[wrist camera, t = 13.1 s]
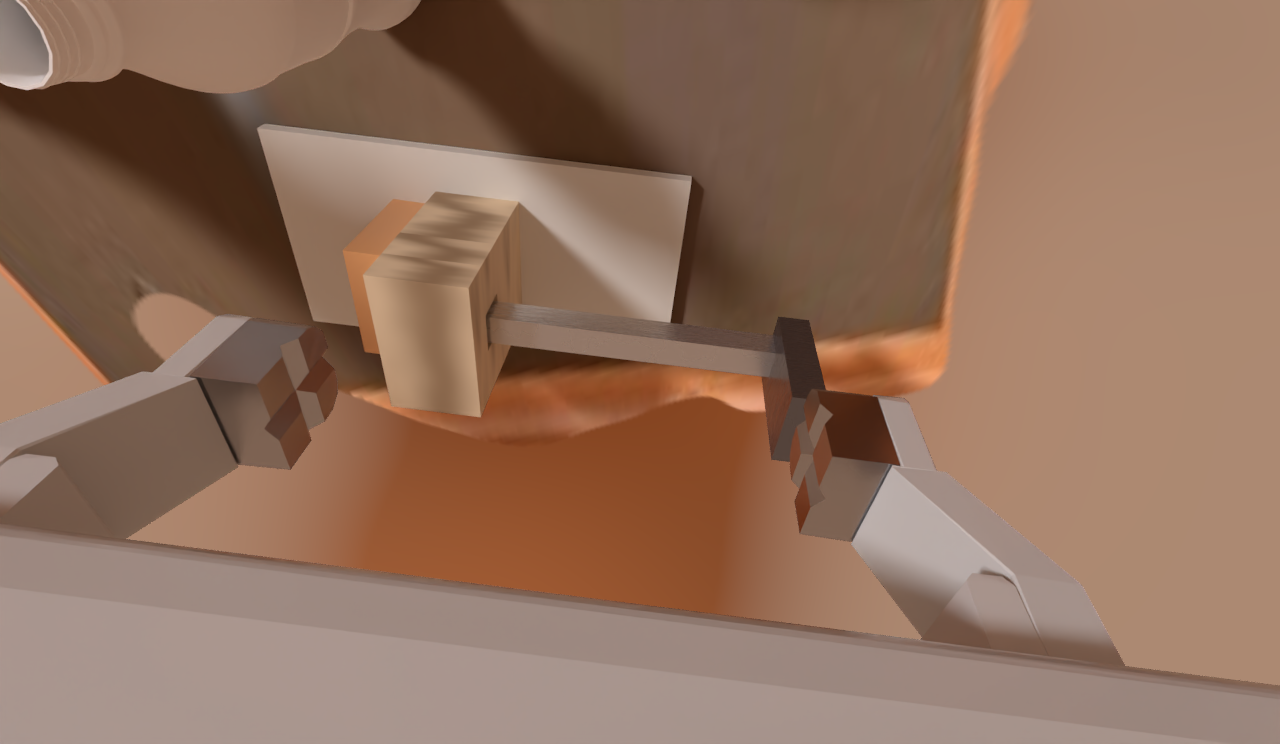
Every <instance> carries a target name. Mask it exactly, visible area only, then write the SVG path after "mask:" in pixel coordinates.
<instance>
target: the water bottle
mask: <svg viewBox="0 0 1280 744" xmlns="http://www.w3.org/2000/svg"><path fill="white" fill-rule="evenodd" d="M420 1H421V0H0V83H2V84H4V85H6V86H10V87H14V88H19V89H24V90H31V89H45V88H47V87H49V86H52V85H56V84H60V83H63V82H68V81H70V82H85V81H86V82H101V81H105V80H108V79H111V78H113V77H115V76H116V75H118V74H119V73H120V72H121V71H122V69H128V70H131V71H134V72H137V73H140V74H143V75H145V76H148V77H151V78H154V79H156V80H159V81H162V82H165V83H168V84H172V85H175V86H179V87H182V88H186V89H191V90H195V91H200V92H207V93H238V92H243V91H249V90H252V89H255V88H258V87H262V86H265V85H266V84H268V83H269V82H271V81H273V80H274V79H276V78H277V77H278V75H279V74H282V73H284V72H286V71H288V70H291V69H293V68H295V67H297V66H300V65H302V64H304V63H306V62H309V61H313V60H316V59H318V58H321V57H323V56H325V55H326V54H328V53H330V52H331V51H332V50H333V49H334V48H336V47H337V46H338V45H339V44H340V42H341V41H342V40H343V39H344V38H345V37H346V36H347V35H348V34H349V33H351V32H352V31H354V30H356V29H358V28H362V29H367V30H384V29H388V28H391V27H393V26H395V25H397V24H399V23H401V22H402V21H403V20H405V19H406V18H407V17H408V16H410V15H411V14H412V13H413V11H414V10H415V9H416V8H417V6H418V5H419V3H420Z"/></svg>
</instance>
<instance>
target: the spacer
mask: <svg viewBox="0 0 1280 744" xmlns="http://www.w3.org/2000/svg"><path fill="white" fill-rule="evenodd" d="M424 204H425V203H419V202H412V201H405V200H397V199H393V200H392V201H391V202H390V203H389V204H388V205H387V206H386V207H385V208H384V209H383V210H382V211H381V212H380V213H379V214H378V215H377V216H376V217H375V218H374V219H373V220H372V221H371V222H370V223H369V224H368V225H367V226H366V227H365V228H364V229H363V230H362V231H361V232H360V233H359V234H358V235H357V236H356V237H355V238H354V239H353V240H352V241H351V242H350V243H349V244H348V245H347V246H346V247H345V248H344V249H343V255H344V259H345V264H346V268H347V273H348V278H349V282H350V287H351V291H352V296H353V300H354V305H355V310H356V314H357V319H358V323H359V328H360V332H361V337H362V341H363V346H364V351H365V352H369V353H376V354H380V352H379V347H378V342H377V338H376V333H375V329H374V324H373V320H372V315H371V310H370V306H369V301H368V297H367V292H366V288H365V283H364V278H363V274H364V273H365V272H366V271H367V270H368V268H369V267H370V266H371V265H372V264H373V263H374V262H375V260H376V259H377V258H378V257H379V256H380V255H381V254H382V252H383V251H384V250H385V249H386V248H387V247H388V245H389V244H390V243H391V242H392V241H393V240H394V239H395V237H396V236H397V235H398V234H399V233H400V232H401V231H402V229H403V228H404V227H405V226H406V225H407V224H408V222H409V221H410V220H411V219H412V218H413V217H414V216H415V214H416V213H417V212H418V211H419V210H420V209H421V208H422V206H423V205H424Z"/></svg>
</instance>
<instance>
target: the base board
mask: <svg viewBox="0 0 1280 744" xmlns="http://www.w3.org/2000/svg"><path fill="white" fill-rule="evenodd" d="M257 130H258V133H259V137H260V140H261V144H262V147H263V150H264V154H265V157H266V161H267V164H268V168H269V171H270V174H271V178H272V181H273V185H274V188H275V191H276V195H277V198H278V202H279V205H280V209H281V212H282V215H283V219H284V222H285V226H286V229H287V233H288V236H289V239H290V243H291V246H292V250H293V253H294V256H295V260H296V263H297V267H298V270H299V274H300V277H301V280H302V284H303V287H304V291H305V294H306V297H307V301H308V304H309V308H310V311H311V315H312V318H313V321H318V322H327V323H335V324H343V325H351V326H359V323H358V319H357V314H356V310H355V305H354V300H353V296H352V291H351V287H350V282H349V278H348V273H347V268H346V264H345V259H344V255H343V249H344V248H345V247H346V246H347V245H348V244H349V243H350V242H351V241H352V240H353V239H354V238H355V237H356V236H357V235H358V234H359V233H360V232H361V231H362V230H363V229H364V228H365V227H366V226H367V225H368V224H369V223H370V222H371V221H372V220H373V219H374V218H375V217H376V216H377V215H378V214H379V213H380V212H381V211H382V210H383V209H384V208H385V207H386V206H387V205H388V204H389V203H390V202H391V201H392V200H393V199H397V200H405V201H412V202H419V203H426V202H427V201H428V200H429V198H430V197H431V196H432V195H433V194H434V193H435V191H436V192H444V193H452V194H460V195H469V196H477V197H485V198H493V199H501V200H509V201H517V202H519V226H520V257H521V287H522V304H524V305H532V306H540V307H548V308H556V309H564V310H572V311H580V312H588V313H596V314H604V315H612V316H620V317H629V318H637V319H645V320H653V321H661V322H669V323H670V320H671V314H672V307H673V301H674V294H675V287H676V281H677V274H678V267H679V261H680V254H681V248H682V241H683V234H684V228H685V221H686V214H687V208H688V201H689V195H690V188H691V181H692V176H687V175H679V174H671V173H663V172H655V171H647V170H638V169H630V168H622V167H614V166H606V165H598V164H590V163H581V162H573V161H565V160H557V159H549V158H541V157H533V156H524V155H516V154H508V153H500V152H492V151H484V150H476V149H467V148H459V147H451V146H443V145H435V144H427V143H419V142H410V141H402V140H394V139H386V138H378V137H370V136H362V135H353V134H345V133H337V132H329V131H321V130H313V129H305V128H296V127H288V126H280V125H272V124H264V125H262V126H260V127H258V128H257ZM576 354H577V353H576ZM584 355H585V354H584ZM592 356H593V355H592ZM600 357H601V356H600ZM608 358H609V357H608ZM616 359H617V358H616ZM624 360H625V359H624ZM632 361H633V360H632ZM640 362H641V361H640Z"/></svg>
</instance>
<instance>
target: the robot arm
mask: <svg viewBox="0 0 1280 744" xmlns="http://www.w3.org/2000/svg"><path fill="white" fill-rule="evenodd" d="M327 349H328V345H327V342H326V339H325V336H324V333H323V331H322V330H320V329H319V328H317V327H315V326H310V325H303V324H296V323H289V322H282V321H276V320H269V319H262V318H252V317H246V316H238V315H231V314H225V315H220V316H217V317H216V318H214V319H213V320H212V321H211V322H210V323H209V324H208V325H206V326H205V327H204V328H203V329H202V330H201V331H200V332H198V333H197V334H196V335H195V336H194V337H193V338H192V339H190V340H189V341H188V342H187V343H186V344H185V345H184V346H182V347H181V348H180V349H179V350H178V351H177V352H176V353H174V354H173V355H172V356H171V357H170V358H169V359H168V360H166V361H165V362H164V363H163V364H162V365H161V366H160V367H158V368H157V369H156V370H155V371H154V372H153V373H151V372H140V373H137V374H135V375H132V376H129V377H126V378H124V379H121V380H118V381H115V382H113V383H110V384H107V385H104V386H102V387H99V388H97V389H94V390H91V391H88V392H85V393H83V394H80V395H77V396H75V397H72V398H69V399H66V400H63V401H61V402H58V403H55V404H53V405H50V406H47V407H44V408H42V409H39V410H36V411H33V412H31V413H28V414H25V415H23V416H20V417H17V418H14V419H11V420H9V421H6V422H3V423H0V744H1280V685H1279V686H1278V685H1271V684H1263V683H1255V682H1248V681H1240V680H1231V679H1223V678H1215V677H1207V676H1199V675H1192V674H1184V673H1176V672H1168V671H1160V670H1151V669H1143V668H1135V667H1129V666H1125V664H1124V663H1123V661H1122V659H1121V657H1120V655H1119V653H1118V651H1117V649H1116V648H1115V646H1114V644H1113V642H1112V640H1111V638H1110V636H1109V635H1108V633H1107V631H1106V629H1105V627H1104V626H1103V624H1102V622H1101V620H1100V618H1099V616H1098V614H1097V612H1096V610H1095V608H1094V607H1093V605H1092V603H1091V601H1090V599H1089V597H1088V595H1087V594H1086V592H1085V590H1084V588H1083V586H1082V585H1081V584H1080V583H1079V582H1077V581H1076V580H1075V579H1074V578H1073V577H1072V576H1070V575H1069V574H1068V573H1067V572H1066V571H1064V570H1063V569H1062V568H1061V567H1060V566H1058V565H1057V564H1056V563H1055V562H1054V561H1052V560H1051V559H1050V558H1049V557H1048V556H1046V555H1045V554H1044V553H1043V552H1042V551H1040V550H1039V549H1038V548H1037V547H1036V546H1034V545H1033V544H1032V543H1031V542H1029V541H1028V540H1027V539H1026V538H1025V537H1023V536H1022V535H1021V534H1020V533H1019V532H1018V531H1016V530H1015V529H1014V528H1013V527H1012V526H1010V525H1009V524H1008V523H1007V522H1006V521H1004V520H1003V519H1002V518H1001V517H1000V516H998V515H997V514H996V513H995V512H993V511H992V510H991V509H990V508H989V507H987V506H986V505H985V504H984V503H983V502H981V501H980V500H979V499H978V498H977V497H975V496H974V495H973V494H972V493H971V492H969V491H968V490H967V489H966V488H965V487H963V486H962V485H961V484H960V483H959V482H957V481H956V480H955V479H954V478H953V477H951V476H950V475H949V474H948V473H947V472H941V471H937V470H936V468H935V465H934V463H933V460H932V458H931V455H930V453H929V450H928V448H927V445H926V443H925V440H924V438H923V436H922V433H921V431H920V428H919V426H918V423H917V421H916V419H915V416H914V414H913V411H912V409H911V406H910V404H909V402H908V401H907V400H906V399H905V398H899V397H889V396H879V395H873V396H870V395H862V394H853V393H845V392H837V391H828V390H820V389H812V390H811V391H810V393H809V394H808V396H807V399H806V401H805V404H804V412H805V417H806V420H805V421H804V422H802V423H801V424H799V425H798V426H797V427H796V430H795V433H794V436H793V439H792V445H791V452H790V472H791V480H792V481H793V482H794V483H795V484H796V485H797V487H798V488H799V491H798V494H797V496H796V499H795V507H796V514H797V520H798V526H799V533H800V534H804V535H810V536H816V537H823V538H829V539H836V540H843V541H849V542H852V543H851V545H852V546H853V547H854V549H855V550H856V551H857V553H858V554H859V555H860V557H861V558H862V559H863V560H864V562H865V563H866V564H867V566H868V567H869V568H870V570H872V572H873V574H874V575H875V576H876V578H877V579H878V580H879V581H880V583H881V584H882V585H883V587H884V588H885V589H886V591H887V592H888V593H889V595H890V596H891V597H892V598H893V600H894V601H895V602H896V604H897V605H898V606H899V608H900V609H901V610H902V611H903V613H904V614H905V616H906V617H907V618H908V619H909V621H910V622H911V623H912V625H913V626H914V627H915V629H916V630H917V631H918V633H919V634H920V635H921V637H922V638H921V639H920V640H916V639H908V638H901V637H892V636H884V635H877V634H869V633H862V632H854V631H845V630H837V629H830V628H822V627H814V626H806V625H799V624H791V623H783V622H774V621H767V620H759V619H752V618H744V617H736V616H727V615H720V614H712V613H704V612H696V611H688V610H680V609H672V608H664V607H657V606H648V605H641V604H633V603H625V602H617V601H609V600H601V599H593V598H585V597H577V596H569V595H562V594H553V593H545V592H538V591H530V590H522V589H514V588H506V587H499V586H490V585H483V584H475V583H467V582H459V581H451V580H443V579H435V578H427V577H420V576H412V575H404V574H396V573H388V572H380V571H373V570H365V569H357V568H349V567H341V566H333V565H326V564H317V563H310V562H301V561H294V560H286V559H278V558H270V557H263V556H255V555H247V554H239V553H231V552H222V551H214V550H207V549H199V548H192V547H184V546H175V545H167V544H160V543H152V542H144V541H136V540H128V539H126V538H128V537H129V536H131V535H132V534H134V533H136V532H137V531H139V530H140V529H142V528H143V527H145V526H146V525H148V524H150V523H151V522H153V521H154V520H156V519H158V518H159V517H161V516H162V515H164V514H165V513H167V512H168V511H170V510H172V509H173V508H175V507H176V506H178V505H179V504H181V503H183V502H184V501H186V500H187V499H189V498H191V497H192V496H194V495H195V494H197V493H198V492H200V491H201V490H203V489H205V488H206V487H208V486H209V485H211V484H213V483H214V482H216V481H217V480H219V479H220V478H222V477H224V476H225V475H227V474H228V473H230V472H231V471H233V470H235V469H236V468H237V467H238V465H247V466H257V467H267V468H277V469H288V470H291V468H292V467H293V466H294V464H295V463H296V461H297V460H298V458H299V457H300V456H301V454H302V453H303V452H304V450H305V449H306V447H307V446H308V445H309V443H310V442H311V437H310V432H309V429H311V428H313V427H315V426H317V425H319V424H321V423H323V422H325V420H326V419H327V417H328V416H329V414H330V413H331V411H332V410H333V407H334V404H335V401H336V397H337V394H338V385H337V377H336V373H335V369H334V368H333V367H332V366H331V365H330V364H329V363H328V362H327V361H326V360H325V359H324V358H323V357H322V356H323V355H324V353H325V352H326V350H327Z"/></svg>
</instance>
